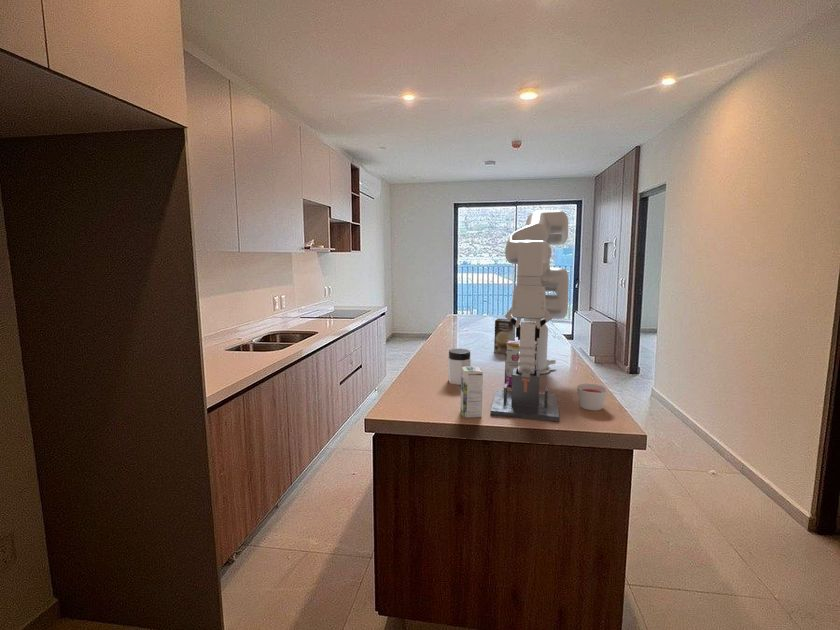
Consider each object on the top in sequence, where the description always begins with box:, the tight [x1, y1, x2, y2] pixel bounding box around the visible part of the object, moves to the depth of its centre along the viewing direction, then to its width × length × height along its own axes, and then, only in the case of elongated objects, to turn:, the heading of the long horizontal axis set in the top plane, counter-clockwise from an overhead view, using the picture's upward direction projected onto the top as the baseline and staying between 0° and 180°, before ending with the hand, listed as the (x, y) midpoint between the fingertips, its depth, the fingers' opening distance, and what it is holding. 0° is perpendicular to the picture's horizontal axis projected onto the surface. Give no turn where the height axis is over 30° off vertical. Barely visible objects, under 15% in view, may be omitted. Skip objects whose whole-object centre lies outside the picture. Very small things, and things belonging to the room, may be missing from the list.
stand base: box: [490, 368, 560, 423], centre depth 138 cm, size 20×20×13 cm
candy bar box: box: [504, 340, 538, 387], centre depth 159 cm, size 11×5×16 cm, turn 71°
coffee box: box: [493, 318, 516, 355], centre depth 209 cm, size 9×6×16 cm
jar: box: [447, 348, 472, 386], centre depth 164 cm, size 9×8×12 cm
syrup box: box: [460, 365, 484, 419], centre depth 132 cm, size 6×6×14 cm
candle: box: [576, 383, 608, 412], centre depth 138 cm, size 9×9×6 cm
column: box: [518, 320, 536, 375], centre depth 136 cm, size 5×5×22 cm
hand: (527, 339), depth 135 cm, fingers closed on column, 4 cm apart
